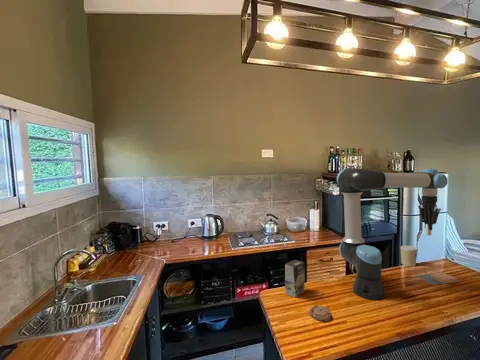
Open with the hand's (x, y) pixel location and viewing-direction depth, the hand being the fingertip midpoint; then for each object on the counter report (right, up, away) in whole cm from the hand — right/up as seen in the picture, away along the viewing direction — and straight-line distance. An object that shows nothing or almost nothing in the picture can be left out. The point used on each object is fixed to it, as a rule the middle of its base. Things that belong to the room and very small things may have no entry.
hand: (428, 234), depth 158 cm
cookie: (-75, -29, -38) cm, 89 cm away
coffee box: (-82, -27, -17) cm, 88 cm away
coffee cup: (-2, -23, +15) cm, 28 cm away
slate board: (0, -25, -7) cm, 25 cm away
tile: (+2, -22, -4) cm, 23 cm away
